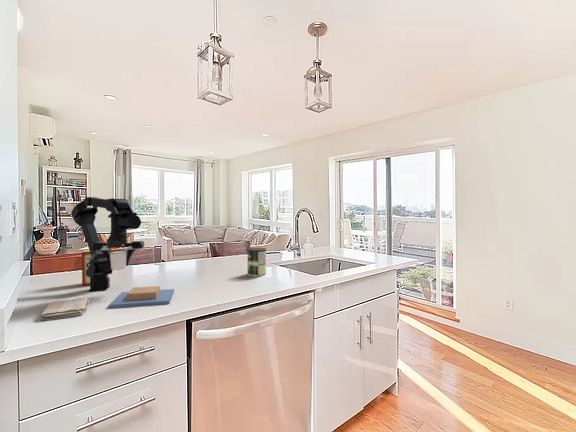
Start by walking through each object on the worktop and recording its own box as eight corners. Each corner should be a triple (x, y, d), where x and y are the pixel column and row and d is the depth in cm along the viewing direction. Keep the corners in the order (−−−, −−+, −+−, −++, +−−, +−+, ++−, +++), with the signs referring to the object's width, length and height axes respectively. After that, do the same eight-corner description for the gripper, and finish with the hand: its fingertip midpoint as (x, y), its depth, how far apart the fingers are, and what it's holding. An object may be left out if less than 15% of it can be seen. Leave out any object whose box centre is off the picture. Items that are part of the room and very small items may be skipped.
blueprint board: (108, 308, 109) (108, 297, 109) (122, 295, 126) (121, 286, 126) (169, 303, 114) (169, 293, 114) (174, 291, 131) (173, 283, 131)
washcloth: (39, 323, 95) (39, 313, 95) (49, 307, 111) (49, 299, 111) (85, 317, 101) (85, 307, 101) (88, 303, 117) (88, 294, 117)
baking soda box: (82, 286, 141) (81, 251, 141) (82, 283, 147) (82, 249, 146) (106, 283, 146) (106, 249, 146) (105, 281, 152) (105, 248, 152)
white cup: (109, 270, 125) (109, 253, 125) (110, 268, 131) (109, 251, 131) (128, 269, 128) (128, 252, 128) (128, 266, 134) (128, 250, 134)
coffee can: (248, 276, 161) (248, 250, 161) (246, 273, 171) (246, 247, 171) (267, 275, 164) (267, 249, 164) (264, 272, 174) (264, 247, 174)
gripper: (86, 230, 119) (86, 270, 119) (139, 229, 124) (139, 268, 124) (96, 228, 130) (96, 265, 130) (144, 227, 134) (144, 263, 135)
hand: (119, 265), depth 129 cm, fingers closed on white cup, 6 cm apart
